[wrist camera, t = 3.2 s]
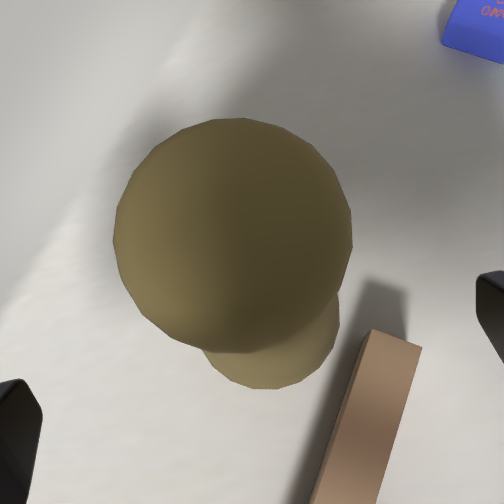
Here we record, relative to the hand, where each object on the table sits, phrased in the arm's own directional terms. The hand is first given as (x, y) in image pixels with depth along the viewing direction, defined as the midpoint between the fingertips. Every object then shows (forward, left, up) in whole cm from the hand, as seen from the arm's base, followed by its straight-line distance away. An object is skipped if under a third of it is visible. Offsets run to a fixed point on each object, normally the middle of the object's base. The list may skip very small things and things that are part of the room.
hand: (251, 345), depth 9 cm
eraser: (+18, -5, -10) cm, 21 cm away
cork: (+2, +1, -10) cm, 10 cm away
